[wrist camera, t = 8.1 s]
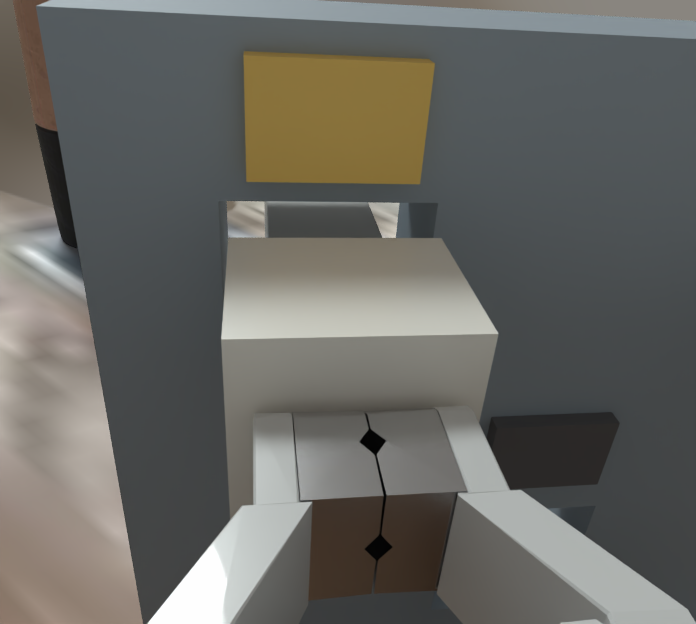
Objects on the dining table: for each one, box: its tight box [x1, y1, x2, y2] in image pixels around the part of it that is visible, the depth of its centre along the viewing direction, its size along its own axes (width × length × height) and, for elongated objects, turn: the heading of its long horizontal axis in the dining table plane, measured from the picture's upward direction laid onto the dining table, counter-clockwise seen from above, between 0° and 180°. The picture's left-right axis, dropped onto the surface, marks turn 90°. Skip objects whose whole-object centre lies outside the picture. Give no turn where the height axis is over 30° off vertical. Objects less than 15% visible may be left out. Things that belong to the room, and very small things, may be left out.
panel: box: [36, 0, 696, 624], centre depth 17 cm, size 20×8×20 cm, turn 97°
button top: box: [221, 201, 498, 520], centre depth 13 cm, size 4×10×4 cm, turn 7°
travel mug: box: [13, 0, 78, 248], centre depth 44 cm, size 8×8×20 cm
